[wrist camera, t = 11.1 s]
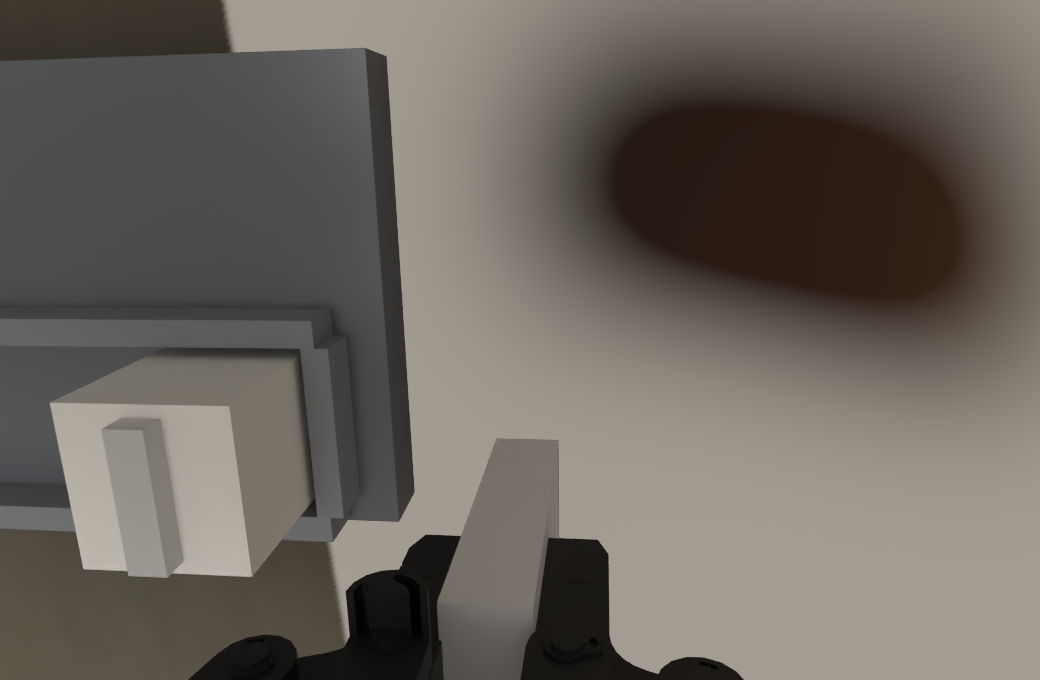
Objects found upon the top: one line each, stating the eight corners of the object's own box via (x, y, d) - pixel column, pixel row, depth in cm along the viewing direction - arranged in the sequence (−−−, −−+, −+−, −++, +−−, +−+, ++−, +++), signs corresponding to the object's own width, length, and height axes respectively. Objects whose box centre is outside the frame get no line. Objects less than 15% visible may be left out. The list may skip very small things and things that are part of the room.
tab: (169, 345, 22) (27, 413, 17) (311, 347, 22) (213, 417, 16) (190, 480, 23) (63, 585, 18) (325, 484, 23) (238, 593, 17)
